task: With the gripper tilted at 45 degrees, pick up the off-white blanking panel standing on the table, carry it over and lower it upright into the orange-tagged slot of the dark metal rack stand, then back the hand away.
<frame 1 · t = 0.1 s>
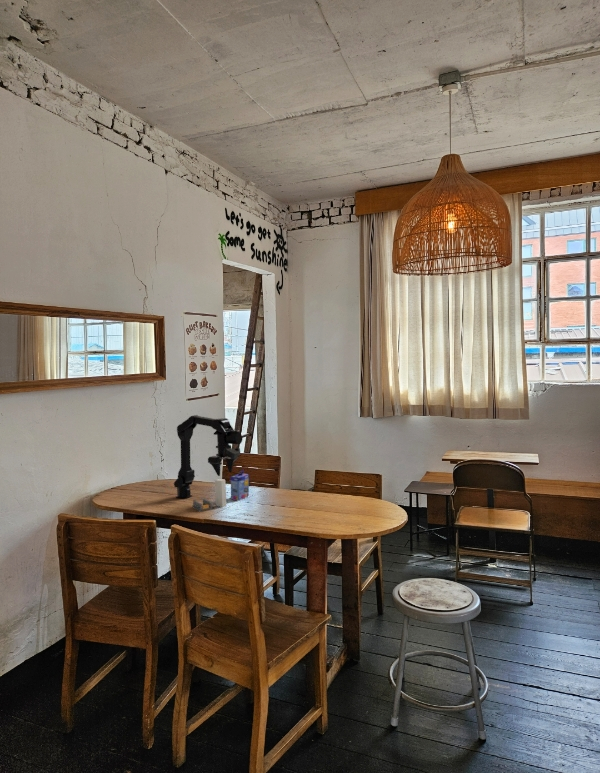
hand: (224, 474, 267), 15 cm above the table, tool pointing down, fingers open, 9 cm apart
ink cartridge box: (240, 498, 275), on the table
blanking panel: (221, 505, 261), on the table
rack: (202, 508, 258), on the table
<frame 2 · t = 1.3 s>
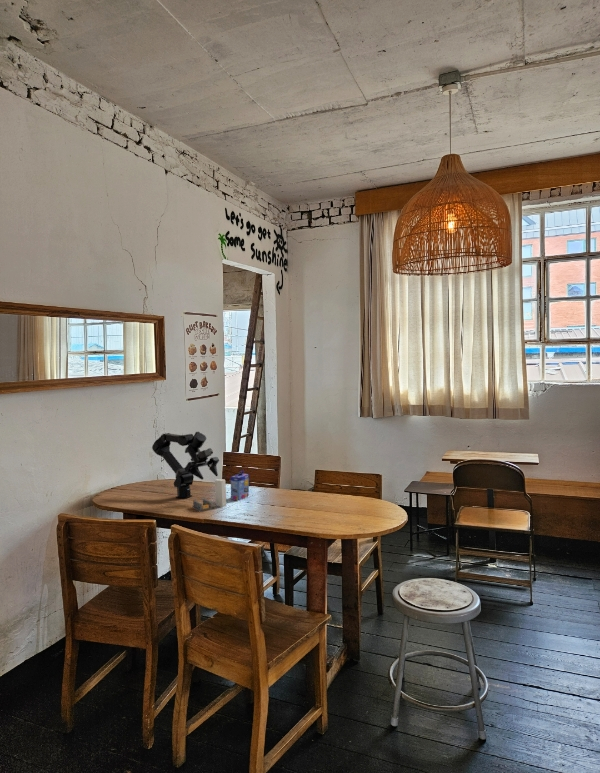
hand: (210, 477, 266), 13 cm above the table, tool tilted 45°, fingers open, 9 cm apart
nothing on the table moved.
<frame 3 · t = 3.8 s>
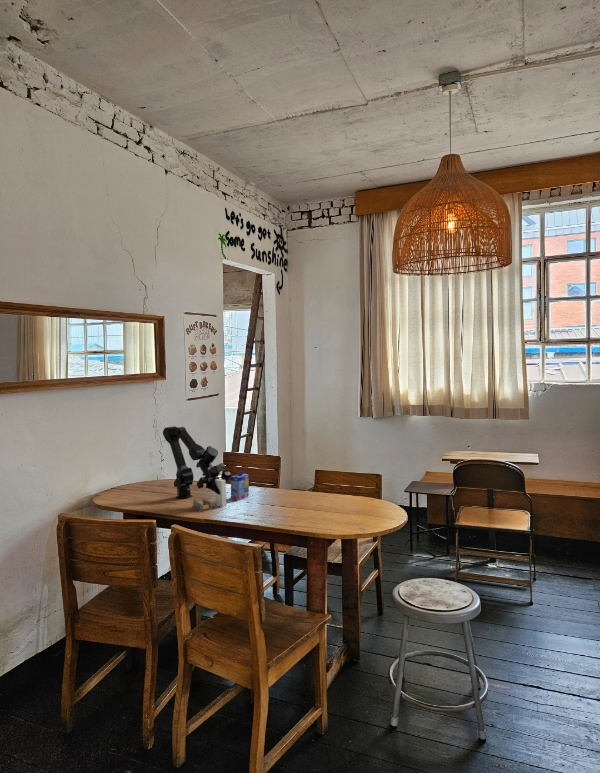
hand: (222, 493, 260), 7 cm above the table, tool tilted 45°, fingers open, 3 cm apart
blanking panel: (221, 505, 261), on the table, touching gripper
everything else where it was.
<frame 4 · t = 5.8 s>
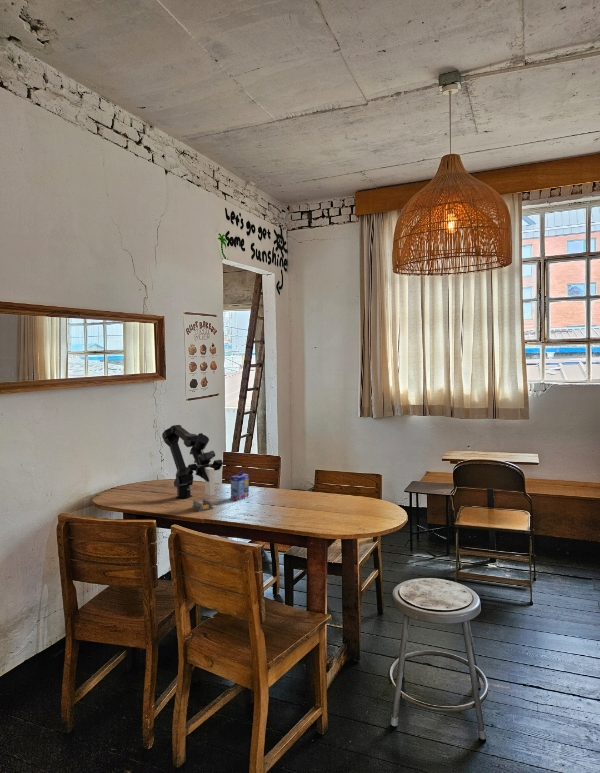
hand: (211, 480, 257), 13 cm above the table, tool tilted 45°, fingers closed on blanking panel, 2 cm apart
blanking panel: (210, 494, 259), point 6 cm above the table, touching gripper
everything else where it was.
when the fingers open (9 cm above the table, at t = 7.8 s): blanking panel stays where it is, resting on rack.
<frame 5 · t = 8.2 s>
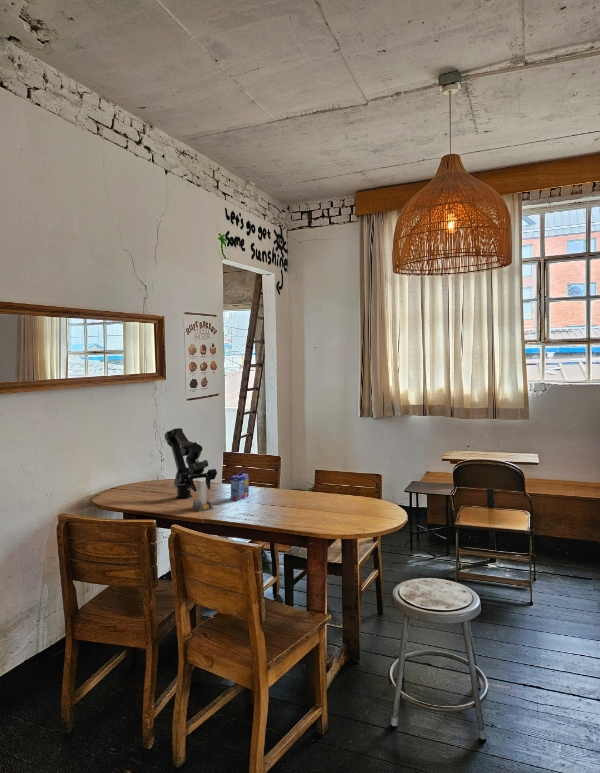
hand: (202, 490, 256), 9 cm above the table, tool tilted 45°, fingers open, 7 cm apart
blanking panel: (202, 506, 258), point 1 cm above the table, touching rack
everything else where it was.
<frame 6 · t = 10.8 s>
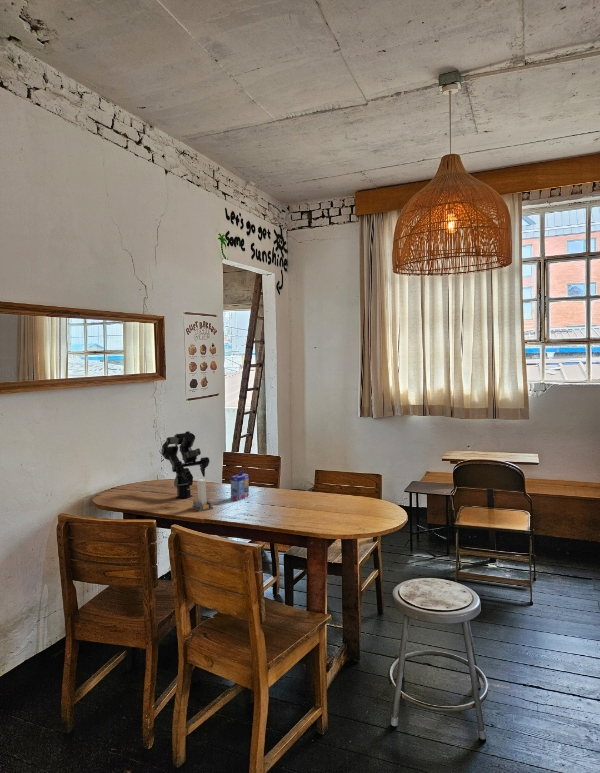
hand: (195, 478, 264), 14 cm above the table, tool tilted 45°, fingers open, 9 cm apart
nothing on the table moved.
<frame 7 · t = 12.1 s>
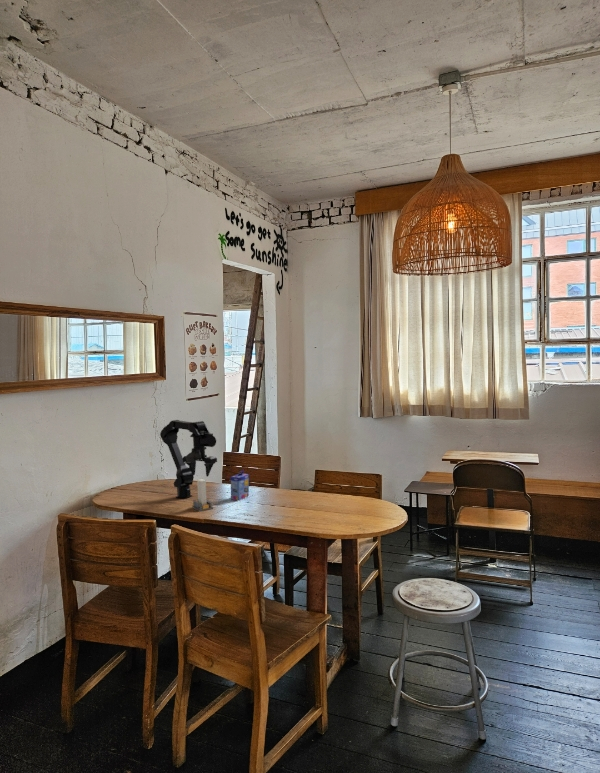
hand: (200, 475, 272), 13 cm above the table, tool pointing down, fingers open, 9 cm apart
nothing on the table moved.
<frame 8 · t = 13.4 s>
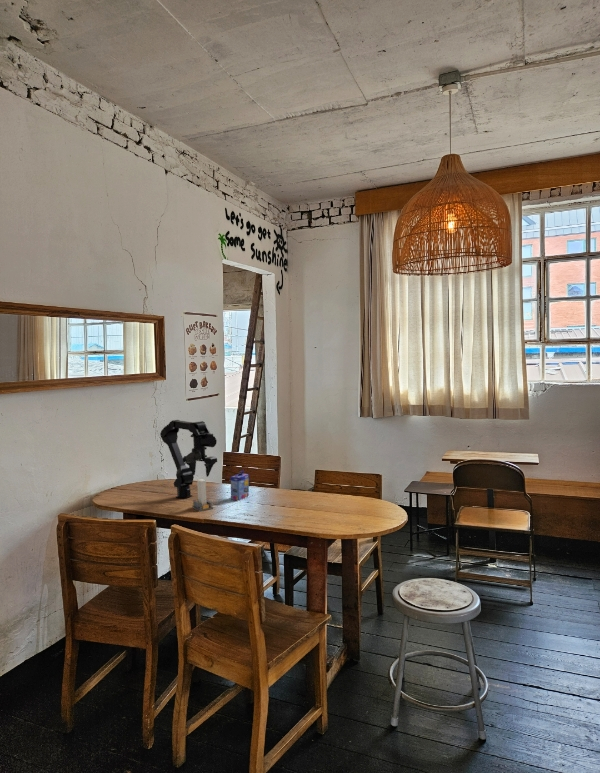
hand: (200, 475, 272), 13 cm above the table, tool pointing down, fingers open, 9 cm apart
nothing on the table moved.
at the end: blanking panel 0.0 cm off-centre on the rack, point 0.9 cm above the rack's base; blanking panel tilted 0°; the gripper is holding nothing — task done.
